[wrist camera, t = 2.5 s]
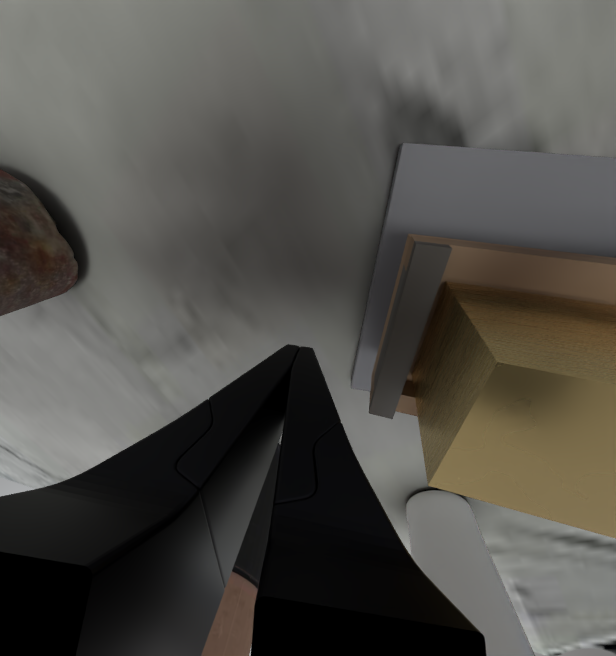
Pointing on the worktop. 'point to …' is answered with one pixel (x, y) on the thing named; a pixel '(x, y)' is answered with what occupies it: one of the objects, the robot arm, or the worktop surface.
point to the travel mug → (244, 579)
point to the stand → (487, 213)
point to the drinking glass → (464, 568)
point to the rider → (521, 403)
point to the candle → (30, 249)
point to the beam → (474, 269)
